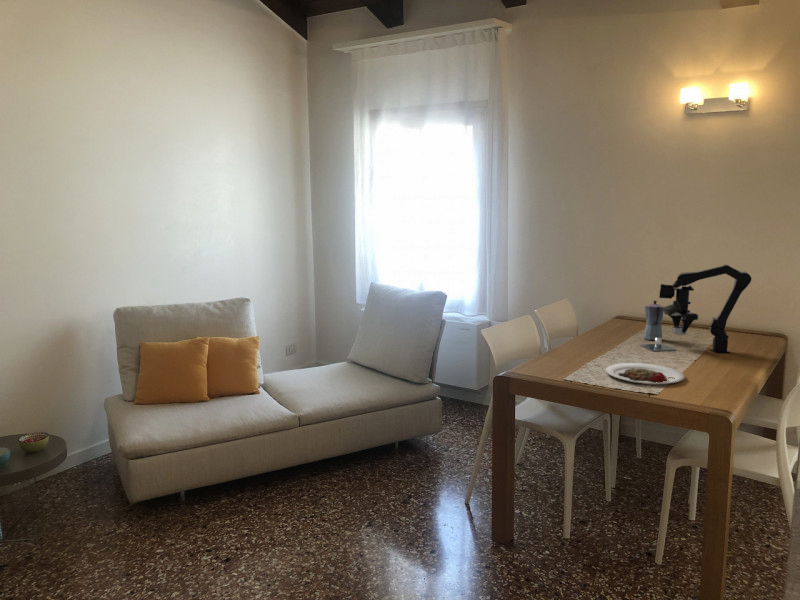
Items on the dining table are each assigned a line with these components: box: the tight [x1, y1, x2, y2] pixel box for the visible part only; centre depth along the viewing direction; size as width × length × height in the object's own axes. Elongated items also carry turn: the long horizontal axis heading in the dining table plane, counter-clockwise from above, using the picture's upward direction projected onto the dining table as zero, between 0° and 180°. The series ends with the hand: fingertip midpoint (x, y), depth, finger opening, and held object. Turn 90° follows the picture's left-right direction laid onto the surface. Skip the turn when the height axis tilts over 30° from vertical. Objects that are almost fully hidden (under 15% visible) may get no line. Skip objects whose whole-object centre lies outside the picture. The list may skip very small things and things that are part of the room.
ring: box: [671, 325, 689, 336], centre depth 307 cm, size 6×6×3 cm
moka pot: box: [643, 300, 665, 341], centre depth 326 cm, size 10×15×20 cm, turn 174°
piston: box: [639, 337, 677, 352], centre depth 309 cm, size 12×12×5 cm
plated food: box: [605, 362, 685, 385], centre depth 260 cm, size 30×30×3 cm
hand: (680, 331), depth 307 cm, fingers closed on ring, 6 cm apart
